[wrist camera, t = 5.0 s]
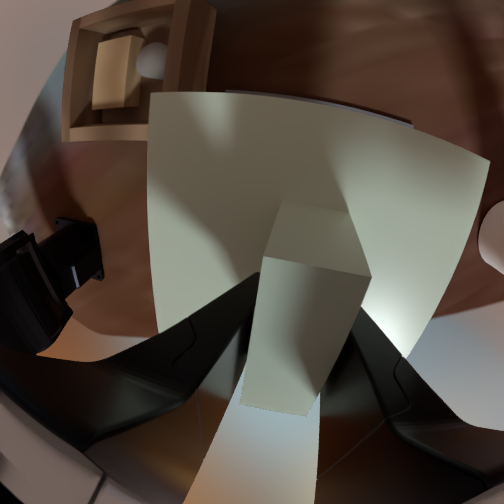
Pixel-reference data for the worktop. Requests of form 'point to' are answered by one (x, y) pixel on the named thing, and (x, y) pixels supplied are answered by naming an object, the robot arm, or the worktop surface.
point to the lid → (302, 226)
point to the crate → (132, 65)
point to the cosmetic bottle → (493, 237)
